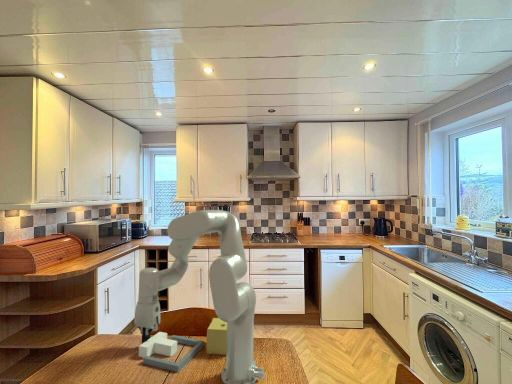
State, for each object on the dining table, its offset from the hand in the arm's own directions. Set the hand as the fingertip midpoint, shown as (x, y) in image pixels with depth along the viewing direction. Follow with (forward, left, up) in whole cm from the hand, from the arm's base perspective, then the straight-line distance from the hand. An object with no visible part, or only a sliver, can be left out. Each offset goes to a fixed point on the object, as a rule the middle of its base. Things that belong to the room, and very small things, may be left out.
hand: (145, 343), depth 104 cm
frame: (-14, 0, -2) cm, 14 cm away
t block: (-8, 0, -2) cm, 8 cm away
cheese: (-30, -10, -2) cm, 32 cm away
